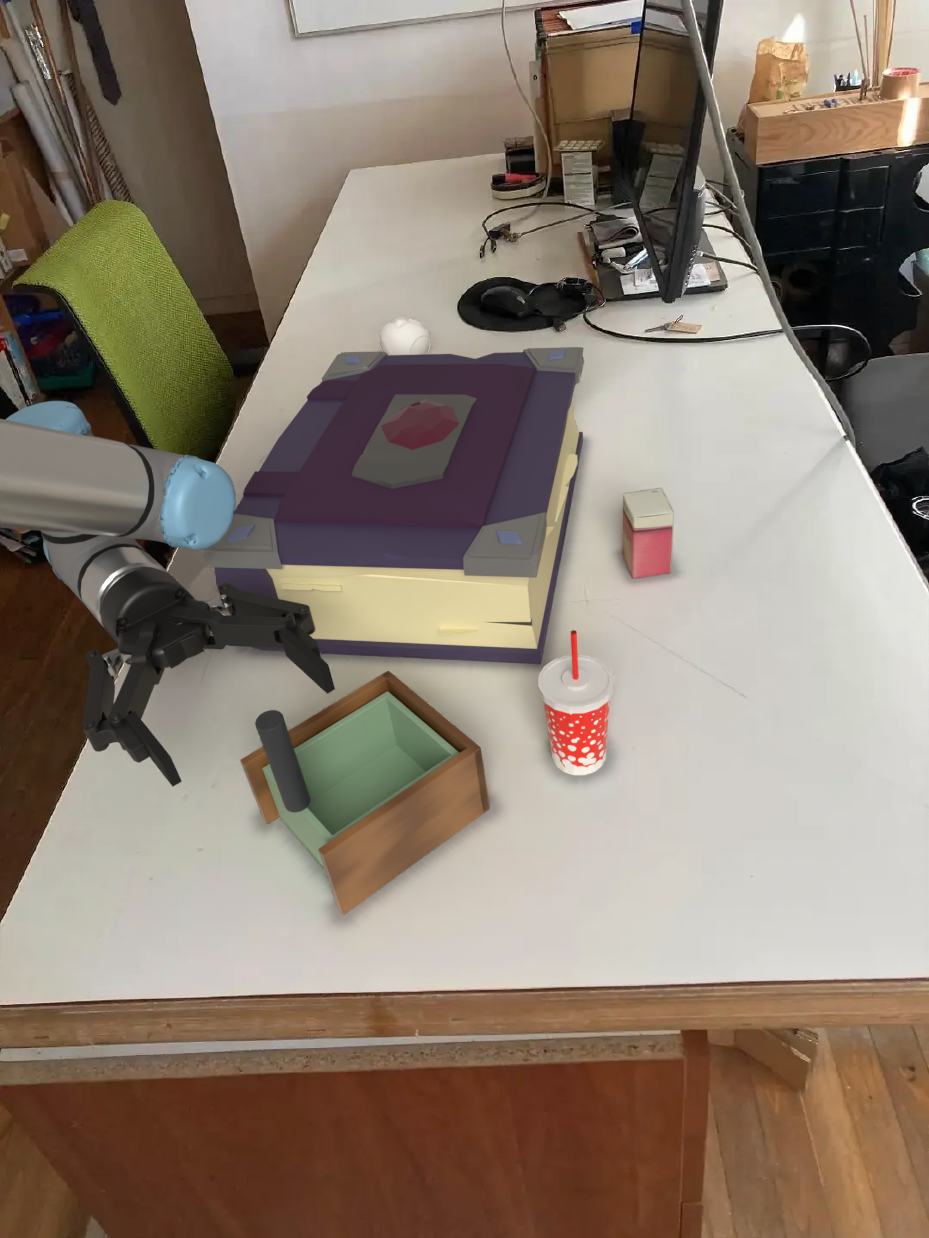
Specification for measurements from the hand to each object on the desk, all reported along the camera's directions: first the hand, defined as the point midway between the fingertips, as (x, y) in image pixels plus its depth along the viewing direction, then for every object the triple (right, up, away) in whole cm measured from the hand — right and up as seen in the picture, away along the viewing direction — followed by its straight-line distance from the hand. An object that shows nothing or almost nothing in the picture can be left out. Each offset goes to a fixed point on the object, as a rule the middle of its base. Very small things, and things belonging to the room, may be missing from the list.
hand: (253, 723), depth 70 cm
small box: (+36, +14, +30) cm, 48 cm away
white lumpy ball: (+7, +48, +76) cm, 90 cm away
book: (+12, +18, +39) cm, 45 cm away
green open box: (+9, -8, +7) cm, 14 cm away
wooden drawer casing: (+9, -8, +7) cm, 14 cm away
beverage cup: (+26, -4, +10) cm, 28 cm away
